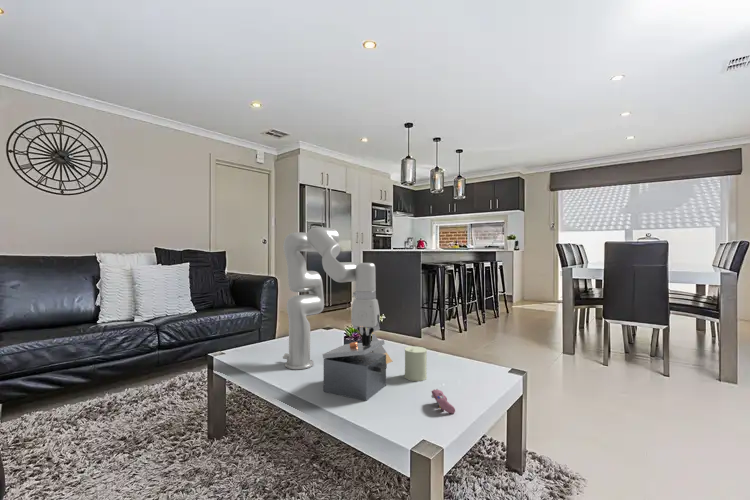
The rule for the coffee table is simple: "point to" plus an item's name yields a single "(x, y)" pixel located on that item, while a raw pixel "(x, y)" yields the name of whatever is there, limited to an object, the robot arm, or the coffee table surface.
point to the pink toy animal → (442, 401)
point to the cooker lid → (353, 349)
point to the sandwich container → (380, 350)
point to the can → (415, 363)
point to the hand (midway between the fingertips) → (366, 345)
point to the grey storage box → (355, 375)
